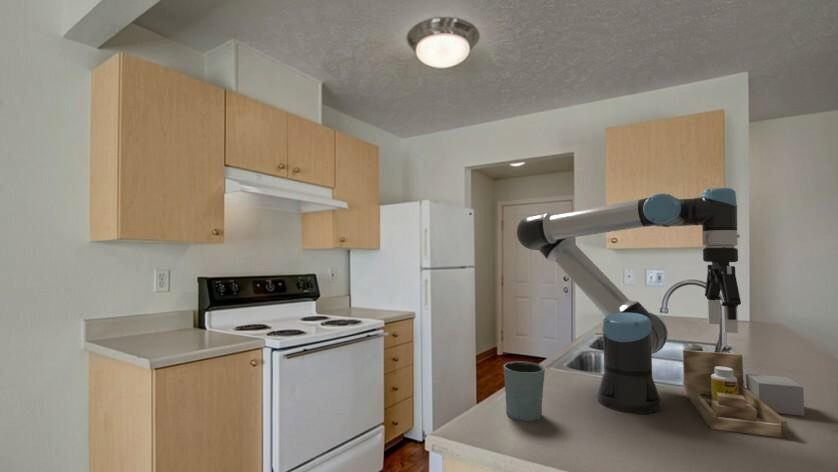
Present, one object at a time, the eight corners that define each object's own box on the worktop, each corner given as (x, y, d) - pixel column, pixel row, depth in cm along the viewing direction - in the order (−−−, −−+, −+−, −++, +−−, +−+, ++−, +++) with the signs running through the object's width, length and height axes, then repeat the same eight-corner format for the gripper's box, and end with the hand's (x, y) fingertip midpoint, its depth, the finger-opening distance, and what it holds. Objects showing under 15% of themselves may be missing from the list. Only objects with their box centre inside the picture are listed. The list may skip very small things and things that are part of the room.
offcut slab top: (717, 417, 98) (716, 406, 98) (711, 410, 102) (711, 400, 102) (757, 421, 95) (756, 410, 95) (749, 414, 99) (749, 404, 99)
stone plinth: (759, 411, 107) (758, 383, 107) (746, 399, 115) (745, 373, 115) (804, 415, 103) (803, 387, 104) (787, 403, 112) (786, 377, 112)
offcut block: (718, 404, 99) (718, 396, 99) (717, 400, 101) (717, 392, 102) (745, 408, 96) (745, 399, 96) (743, 404, 99) (742, 395, 99)
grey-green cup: (518, 404, 112) (517, 359, 113) (553, 414, 105) (552, 366, 106) (496, 414, 105) (495, 366, 106) (532, 426, 98) (531, 374, 98)
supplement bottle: (726, 412, 106) (724, 371, 106) (706, 405, 111) (705, 366, 112) (744, 410, 107) (742, 370, 107) (723, 403, 112) (722, 364, 113)
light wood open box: (711, 428, 96) (709, 375, 97) (684, 391, 122) (682, 349, 123) (787, 438, 91) (785, 381, 92) (742, 397, 117) (740, 353, 117)
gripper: (756, 246, 98) (758, 338, 97) (721, 247, 121) (723, 321, 120) (717, 246, 101) (720, 335, 100) (691, 247, 124) (693, 319, 123)
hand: (722, 328), depth 110 cm, fingers open, 13 cm apart
